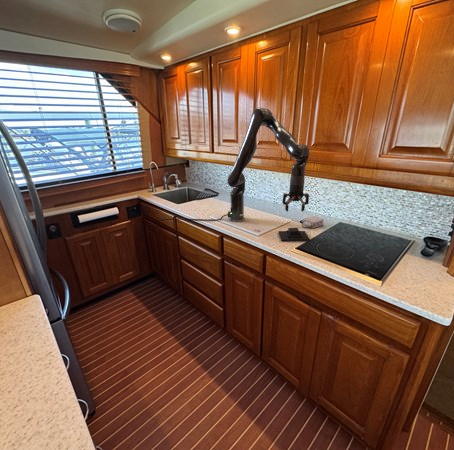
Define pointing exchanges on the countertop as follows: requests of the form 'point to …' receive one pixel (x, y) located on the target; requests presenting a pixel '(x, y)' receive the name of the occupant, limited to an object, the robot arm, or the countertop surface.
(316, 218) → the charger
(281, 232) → the base pad
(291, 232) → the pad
